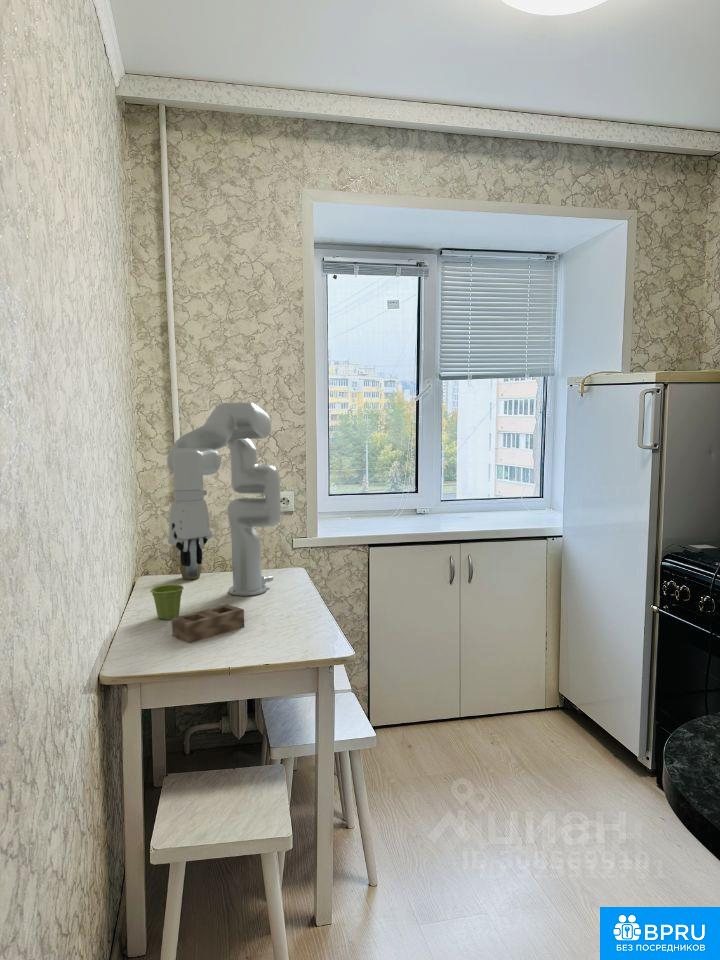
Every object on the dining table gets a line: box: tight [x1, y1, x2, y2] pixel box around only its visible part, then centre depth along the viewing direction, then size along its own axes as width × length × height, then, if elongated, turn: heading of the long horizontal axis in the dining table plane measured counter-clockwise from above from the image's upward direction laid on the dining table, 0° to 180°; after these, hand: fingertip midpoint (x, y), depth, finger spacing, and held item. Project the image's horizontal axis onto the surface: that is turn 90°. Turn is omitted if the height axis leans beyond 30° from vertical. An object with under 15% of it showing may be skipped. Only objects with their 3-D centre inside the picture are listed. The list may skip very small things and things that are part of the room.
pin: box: [186, 538, 198, 577], centre depth 184 cm, size 3×3×10 cm
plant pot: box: [150, 584, 184, 620], centre depth 203 cm, size 9×9×9 cm
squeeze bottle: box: [179, 556, 203, 581], centre depth 250 cm, size 8×8×18 cm
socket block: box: [171, 604, 245, 644], centre depth 189 cm, size 18×8×5 cm, turn 137°
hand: (191, 563), depth 184 cm, fingers closed on pin, 3 cm apart
